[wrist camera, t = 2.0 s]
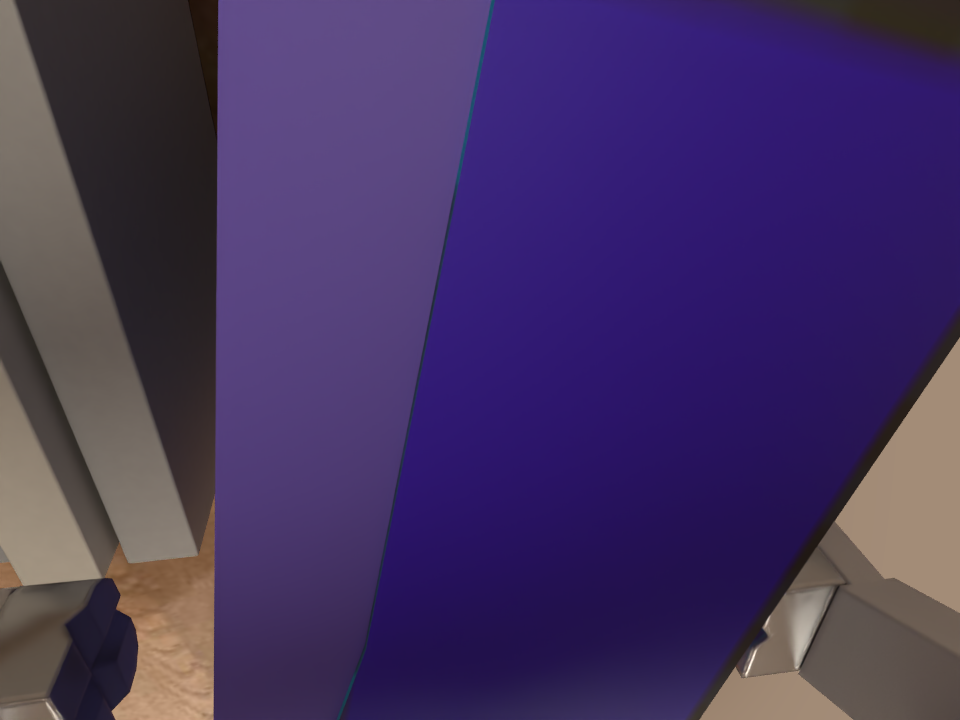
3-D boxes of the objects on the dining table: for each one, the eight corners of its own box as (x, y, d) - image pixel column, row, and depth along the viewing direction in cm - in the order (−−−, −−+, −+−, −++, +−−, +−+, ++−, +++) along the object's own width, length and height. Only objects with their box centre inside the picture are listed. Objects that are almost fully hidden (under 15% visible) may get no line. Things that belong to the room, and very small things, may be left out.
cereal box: (409, 346, 31) (495, 1036, 11) (309, 335, 30) (208, 1084, 10) (485, -70, 23) (1429, -274, 3) (350, -107, 22) (205, -977, 1)
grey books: (173, -75, 21) (-55, -113, 10) (257, 338, 30) (191, 584, 18) (-38, -79, 20) (-574, -126, 9) (111, 348, 29) (-57, 613, 17)
